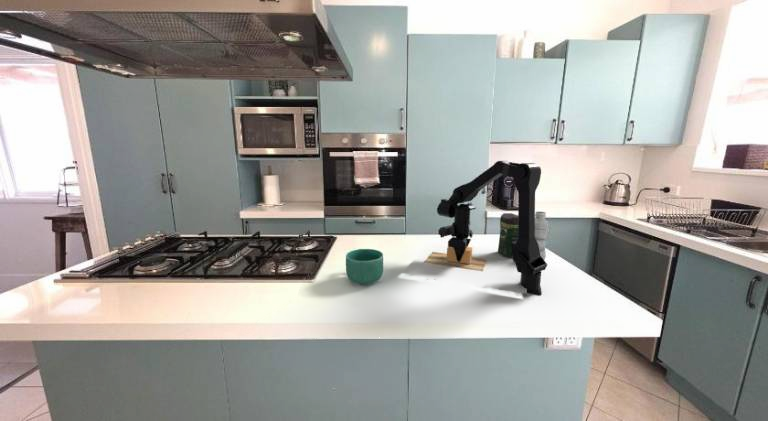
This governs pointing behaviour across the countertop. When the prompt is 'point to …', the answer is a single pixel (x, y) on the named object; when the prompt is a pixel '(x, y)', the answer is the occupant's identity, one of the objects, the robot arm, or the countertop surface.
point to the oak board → (441, 260)
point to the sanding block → (465, 258)
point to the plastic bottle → (541, 231)
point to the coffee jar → (507, 233)
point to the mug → (364, 266)
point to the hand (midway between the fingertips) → (459, 259)
